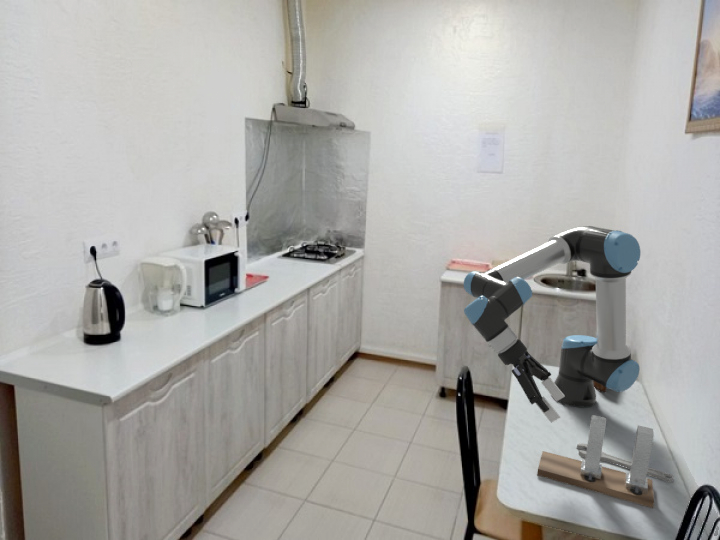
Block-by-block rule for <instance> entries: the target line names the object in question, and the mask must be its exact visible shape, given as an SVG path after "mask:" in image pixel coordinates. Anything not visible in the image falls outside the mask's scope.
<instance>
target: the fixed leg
mask: <svg viewBox="0 0 720 540" xmlns="http://www.w3.org/2000/svg"><path fill="white" fill-rule="evenodd" d="M654 437H655V433H654V428H652V427H647V426H643V425H639V424H637V428H636V434H635V440H634V446H633V449H632V450H633V451H632V456H631V461H630V462H631V467H630V469H629V472H625V473H626V476H625V488H628V489H634V490H635V492H636V493H638V491H641V492H643V493H647V491H648V483H647V478H648V477H647V476H648V475H647V470H648V467H649V464H650V457H651V452H652V446H653V442H654Z"/></svg>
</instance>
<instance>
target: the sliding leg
mask: <svg viewBox="0 0 720 540" xmlns="http://www.w3.org/2000/svg"><path fill="white" fill-rule="evenodd" d="M590 419H591V420H590V425H589V432H588V439H587V443H586V444H587V451H586V450H585V451H586V458H584V459H581V461H582V464H581V471H580V474H582V475H586V476H589V480H592V477H593V478H597V479H601V471H602V467H603V466H602V464H600V463H601V460H600V458H601V452H603V445H604V444H603V443H604V437H605V432H606V425H607V418H606V417H604V416H598V415H595V414H591V417H590Z"/></svg>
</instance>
